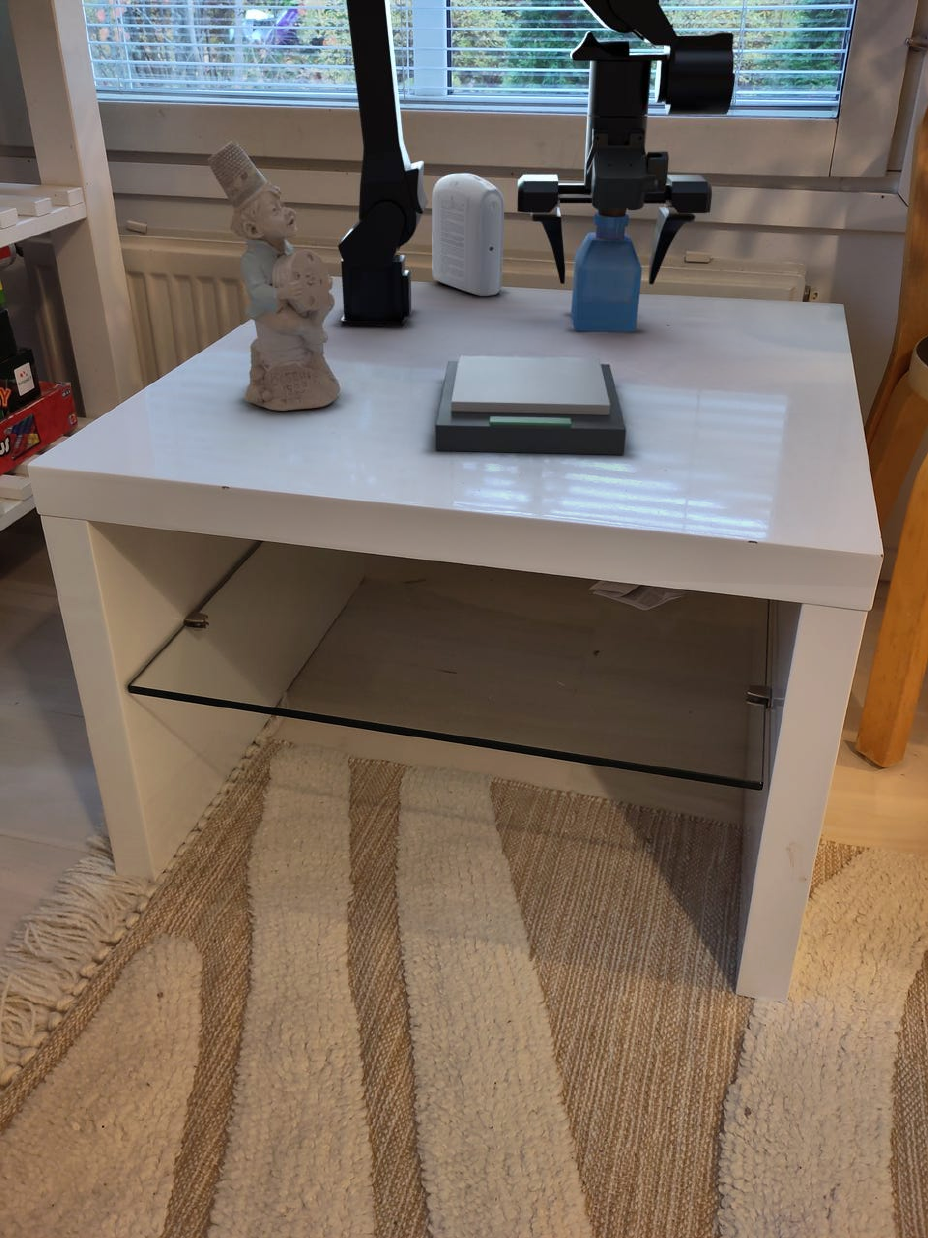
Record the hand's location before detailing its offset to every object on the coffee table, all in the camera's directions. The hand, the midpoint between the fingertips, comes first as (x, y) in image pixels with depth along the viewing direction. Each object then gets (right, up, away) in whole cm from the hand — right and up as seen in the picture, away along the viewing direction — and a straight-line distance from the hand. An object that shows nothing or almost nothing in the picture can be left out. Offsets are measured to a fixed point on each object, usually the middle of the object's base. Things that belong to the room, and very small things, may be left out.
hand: (606, 283), depth 105 cm
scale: (-10, -18, -22) cm, 30 cm away
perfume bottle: (0, -4, +2) cm, 4 cm away
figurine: (-29, -16, -19) cm, 38 cm away
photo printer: (-14, +5, +16) cm, 22 cm away
